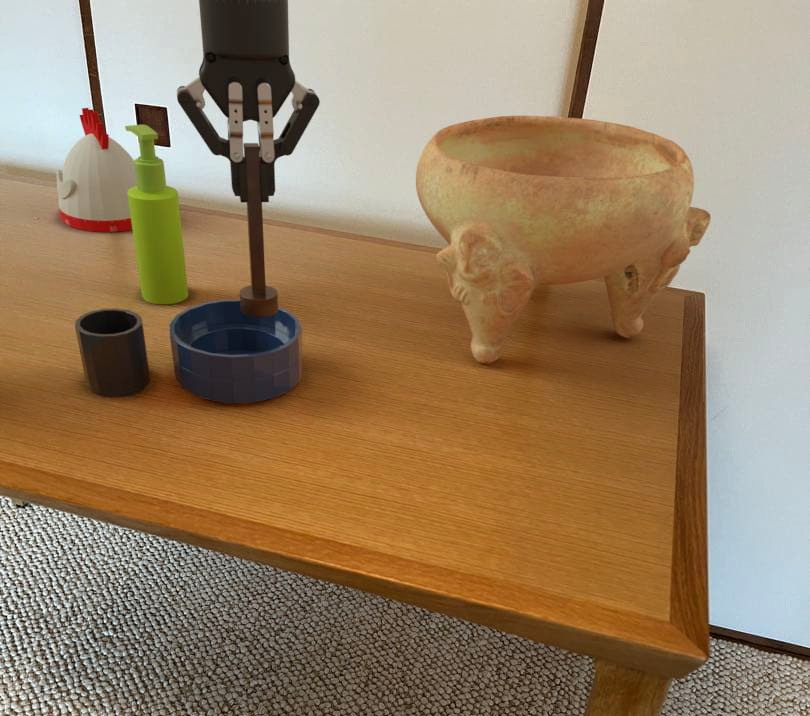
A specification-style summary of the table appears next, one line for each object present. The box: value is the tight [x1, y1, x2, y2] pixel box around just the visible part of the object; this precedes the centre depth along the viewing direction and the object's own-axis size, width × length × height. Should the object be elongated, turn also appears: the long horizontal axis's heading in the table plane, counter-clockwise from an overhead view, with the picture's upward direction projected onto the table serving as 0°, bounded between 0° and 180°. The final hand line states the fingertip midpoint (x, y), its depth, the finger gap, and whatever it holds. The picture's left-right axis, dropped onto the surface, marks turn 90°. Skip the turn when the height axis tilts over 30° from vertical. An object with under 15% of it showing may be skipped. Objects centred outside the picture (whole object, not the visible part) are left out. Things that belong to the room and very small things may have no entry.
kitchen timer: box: [55, 107, 137, 233], centre depth 123 cm, size 14×14×15 cm
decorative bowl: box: [415, 115, 711, 365], centre depth 101 cm, size 34×35×23 cm
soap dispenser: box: [124, 124, 189, 305], centre depth 101 cm, size 6×7×20 cm
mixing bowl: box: [169, 298, 303, 404], centre depth 90 cm, size 14×14×6 cm
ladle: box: [239, 142, 279, 318], centre depth 82 cm, size 4×4×16 cm
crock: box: [74, 307, 151, 398], centre depth 87 cm, size 7×7×7 cm
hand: (253, 199), depth 80 cm, fingers closed on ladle, 1 cm apart
